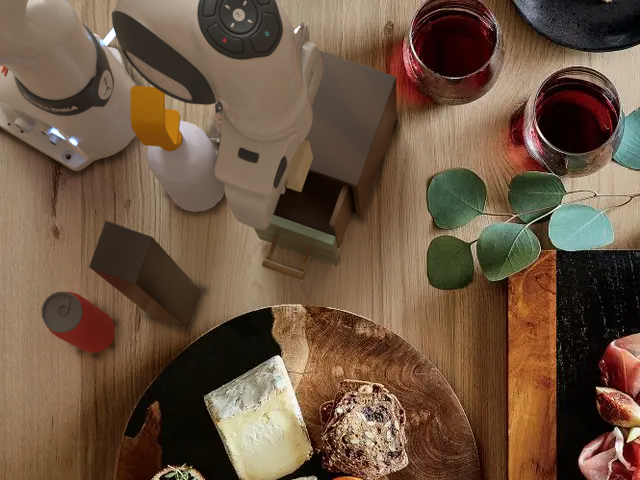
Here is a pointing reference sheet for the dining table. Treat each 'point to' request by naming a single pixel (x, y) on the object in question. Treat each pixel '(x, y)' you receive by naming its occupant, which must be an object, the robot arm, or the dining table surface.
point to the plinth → (145, 274)
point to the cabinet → (351, 124)
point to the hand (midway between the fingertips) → (287, 164)
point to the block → (300, 166)
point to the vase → (218, 121)
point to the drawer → (309, 223)
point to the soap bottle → (176, 151)
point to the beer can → (78, 321)
